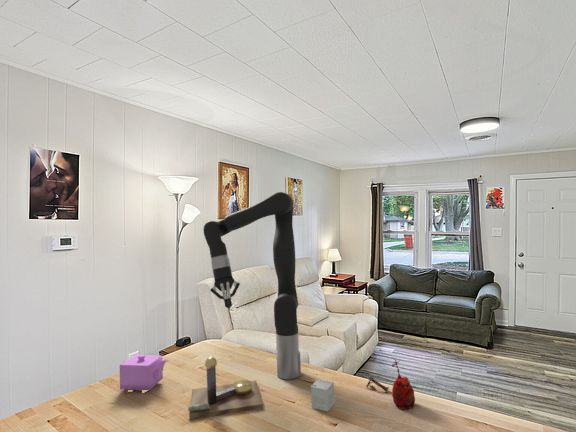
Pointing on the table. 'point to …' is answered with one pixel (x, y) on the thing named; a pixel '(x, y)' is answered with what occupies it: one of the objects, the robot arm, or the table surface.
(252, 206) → the robot arm
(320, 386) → the skincare box
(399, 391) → the red rounded piece
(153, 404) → the table surface
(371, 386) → the wooden post with brackets
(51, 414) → the table surface
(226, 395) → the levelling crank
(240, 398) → the walnut base
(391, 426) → the table surface
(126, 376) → the teapot
